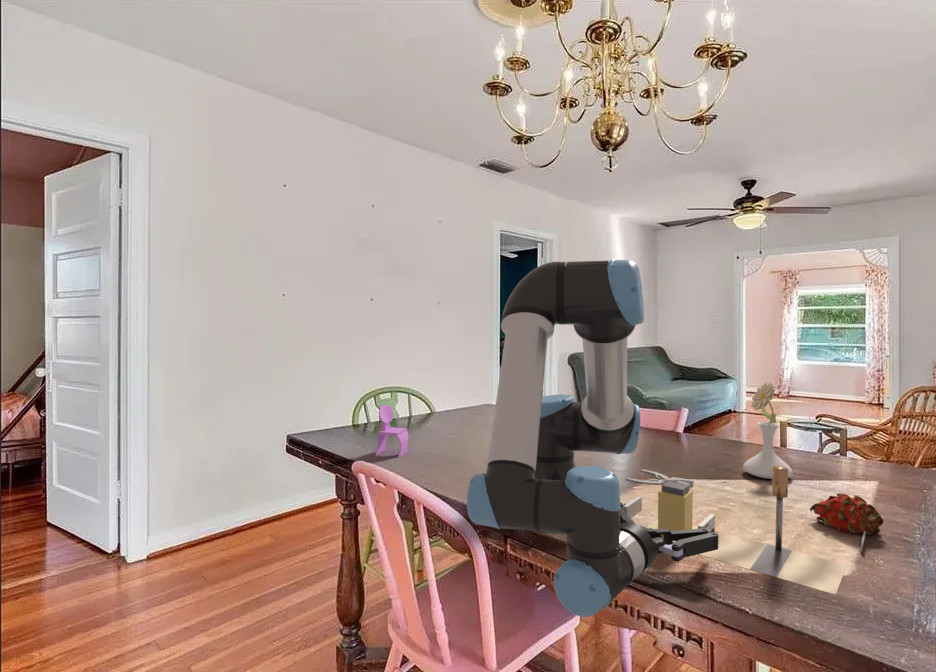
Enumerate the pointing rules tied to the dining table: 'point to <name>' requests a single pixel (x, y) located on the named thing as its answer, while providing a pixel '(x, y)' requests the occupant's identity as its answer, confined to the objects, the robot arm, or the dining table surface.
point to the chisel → (779, 499)
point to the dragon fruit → (848, 514)
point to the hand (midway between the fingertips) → (674, 512)
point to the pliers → (665, 479)
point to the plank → (776, 562)
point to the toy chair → (390, 431)
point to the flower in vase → (765, 438)
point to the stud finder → (675, 507)
